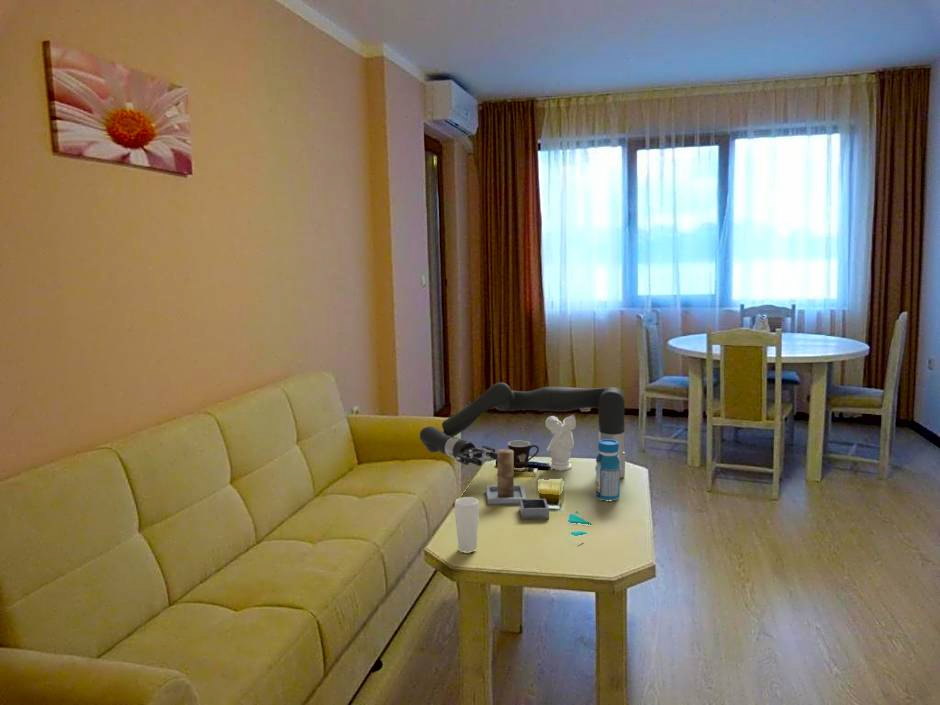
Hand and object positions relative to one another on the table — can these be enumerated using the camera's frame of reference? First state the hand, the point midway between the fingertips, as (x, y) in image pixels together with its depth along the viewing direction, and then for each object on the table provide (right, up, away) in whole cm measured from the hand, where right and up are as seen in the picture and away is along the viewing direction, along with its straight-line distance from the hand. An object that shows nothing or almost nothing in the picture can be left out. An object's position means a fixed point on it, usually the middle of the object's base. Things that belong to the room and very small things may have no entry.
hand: (490, 460), depth 244 cm
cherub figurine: (+30, -7, +29) cm, 42 cm away
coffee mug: (+14, -8, +27) cm, 31 cm away
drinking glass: (-8, -20, -43) cm, 48 cm away
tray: (+5, -13, -4) cm, 14 cm away
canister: (+5, -12, -4) cm, 13 cm away
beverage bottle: (+40, -13, -4) cm, 42 cm away
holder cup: (+14, -15, -18) cm, 27 cm away
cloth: (+27, -18, -29) cm, 43 cm away
